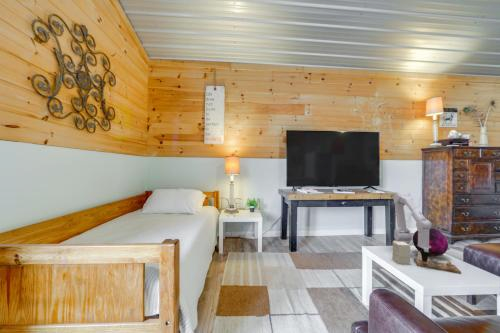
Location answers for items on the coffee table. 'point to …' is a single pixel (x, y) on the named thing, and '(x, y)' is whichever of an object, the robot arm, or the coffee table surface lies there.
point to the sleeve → (421, 258)
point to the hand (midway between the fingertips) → (423, 259)
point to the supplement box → (401, 252)
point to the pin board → (438, 266)
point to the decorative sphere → (434, 242)
